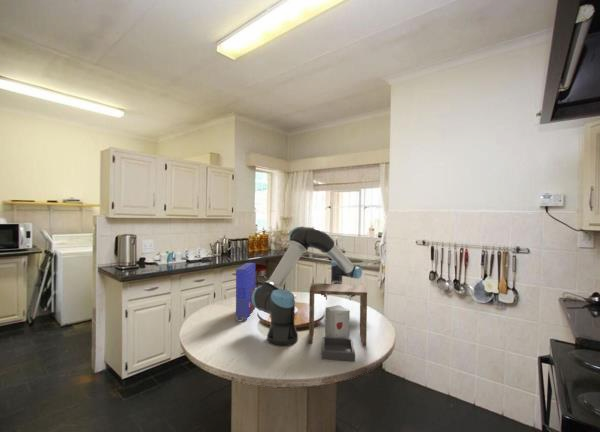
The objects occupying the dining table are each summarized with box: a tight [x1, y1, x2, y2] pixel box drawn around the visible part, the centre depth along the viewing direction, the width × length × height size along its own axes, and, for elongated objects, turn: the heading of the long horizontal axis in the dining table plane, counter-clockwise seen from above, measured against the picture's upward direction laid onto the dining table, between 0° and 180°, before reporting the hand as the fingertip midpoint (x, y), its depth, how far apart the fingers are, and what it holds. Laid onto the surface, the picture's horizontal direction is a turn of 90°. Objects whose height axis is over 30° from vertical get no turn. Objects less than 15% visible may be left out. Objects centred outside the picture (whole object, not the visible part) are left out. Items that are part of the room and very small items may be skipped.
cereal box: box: [235, 262, 256, 322], centre depth 174 cm, size 22×6×30 cm, turn 175°
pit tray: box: [321, 336, 356, 362], centre depth 127 cm, size 14×14×4 cm
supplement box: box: [324, 304, 351, 339], centre depth 142 cm, size 9×9×15 cm
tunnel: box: [308, 282, 368, 347], centre depth 142 cm, size 27×14×26 cm, turn 84°
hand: (338, 297), depth 160 cm, fingers open, 13 cm apart
